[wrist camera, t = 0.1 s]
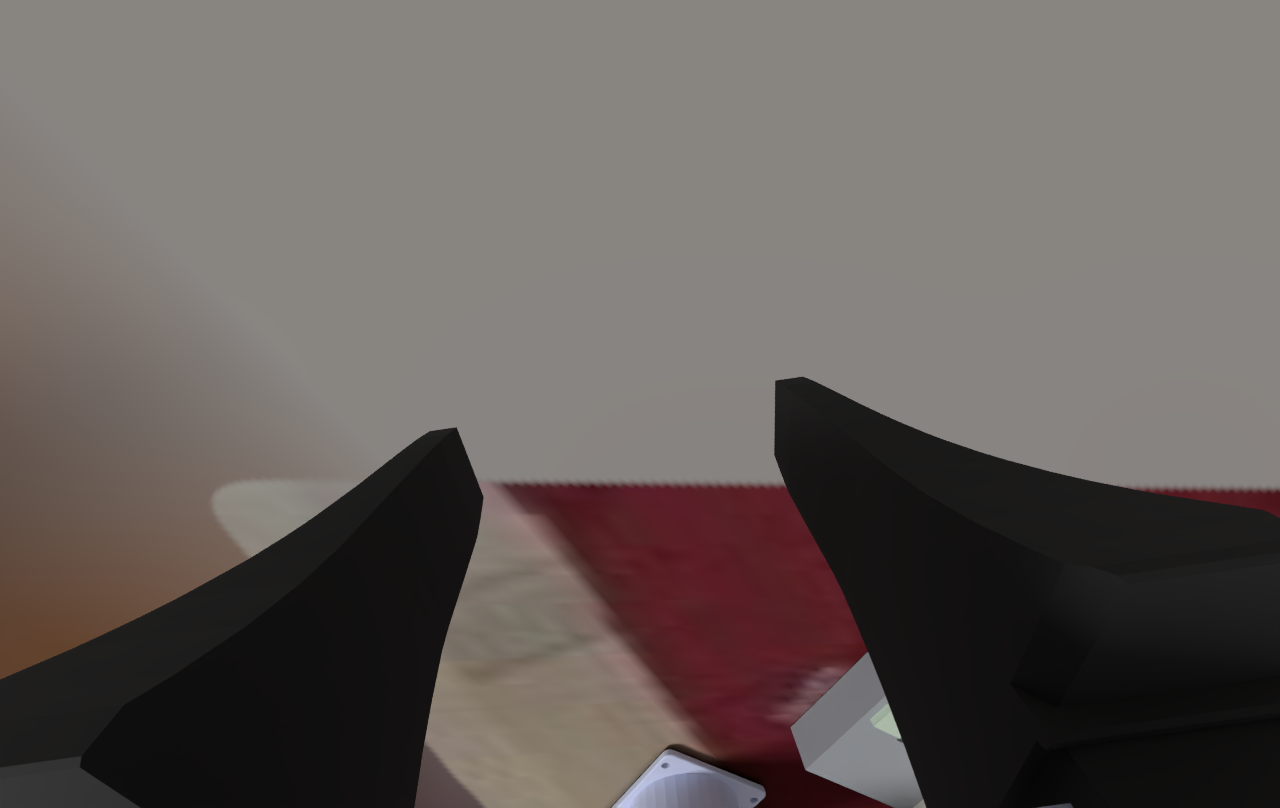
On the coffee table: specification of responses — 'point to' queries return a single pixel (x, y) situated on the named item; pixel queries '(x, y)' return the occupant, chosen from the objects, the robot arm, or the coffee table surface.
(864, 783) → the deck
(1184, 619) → the robot arm
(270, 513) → the coffee table surface
